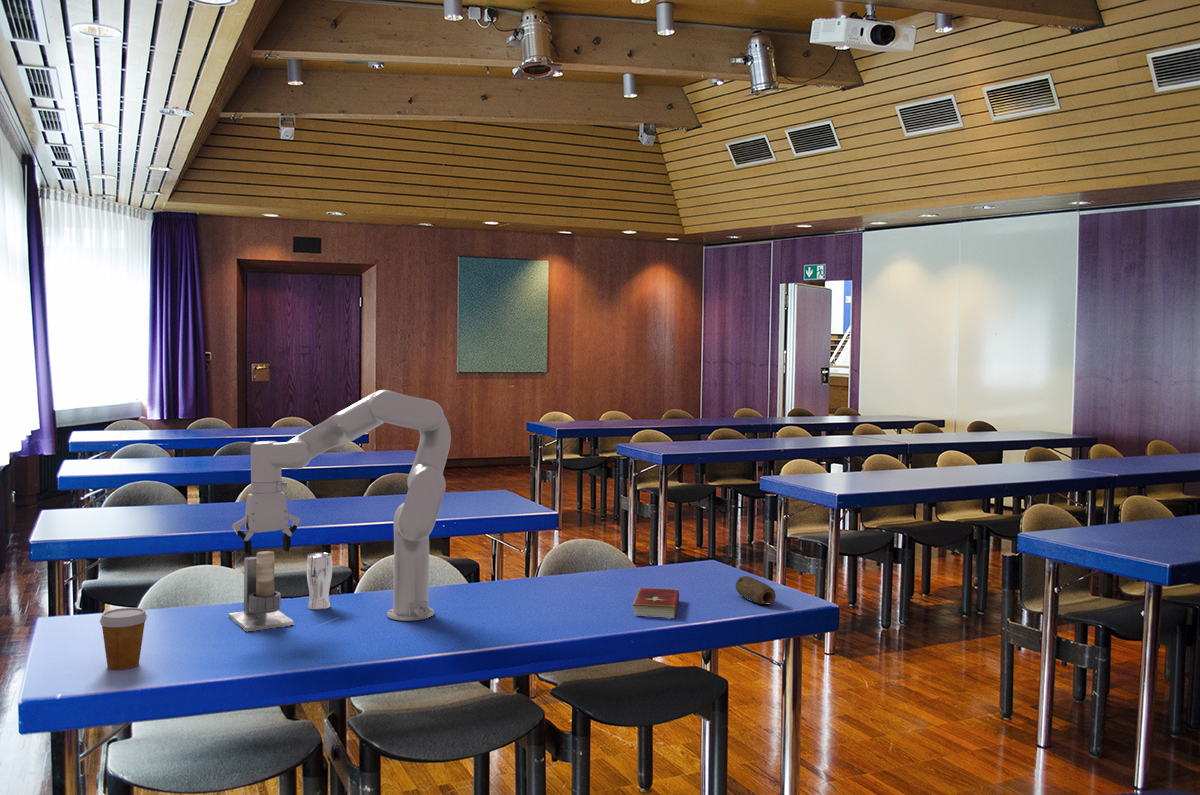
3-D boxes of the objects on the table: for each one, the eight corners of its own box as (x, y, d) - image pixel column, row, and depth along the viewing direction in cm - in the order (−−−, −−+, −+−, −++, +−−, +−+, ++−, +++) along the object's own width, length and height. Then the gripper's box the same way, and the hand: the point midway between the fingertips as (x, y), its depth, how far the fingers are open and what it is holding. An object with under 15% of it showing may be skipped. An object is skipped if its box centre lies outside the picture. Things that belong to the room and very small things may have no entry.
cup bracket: (293, 625, 238) (294, 564, 238) (246, 632, 231) (247, 569, 231) (273, 611, 252) (274, 553, 252) (228, 617, 245) (229, 558, 244)
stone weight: (731, 597, 280) (731, 575, 279) (749, 595, 283) (750, 573, 282) (760, 608, 266) (760, 585, 266) (779, 606, 269) (779, 584, 269)
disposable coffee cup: (122, 657, 210) (123, 605, 209) (156, 661, 207) (156, 609, 207) (88, 669, 200) (89, 615, 200) (123, 674, 198) (124, 619, 197)
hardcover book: (679, 602, 273) (679, 588, 273) (675, 620, 252) (675, 605, 252) (639, 600, 275) (639, 586, 274) (632, 618, 254) (632, 603, 254)
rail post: (276, 606, 238) (276, 553, 238) (259, 608, 236) (259, 555, 235) (271, 602, 242) (271, 550, 241) (254, 605, 239) (254, 552, 239)
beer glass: (335, 604, 261) (336, 552, 260) (325, 610, 254) (326, 557, 253) (312, 603, 261) (312, 552, 261) (302, 609, 254) (302, 556, 254)
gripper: (294, 484, 246) (295, 546, 247) (228, 489, 236) (229, 554, 236) (304, 487, 240) (304, 551, 241) (236, 492, 230) (237, 559, 230)
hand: (267, 552), depth 238 cm, fingers open, 9 cm apart
